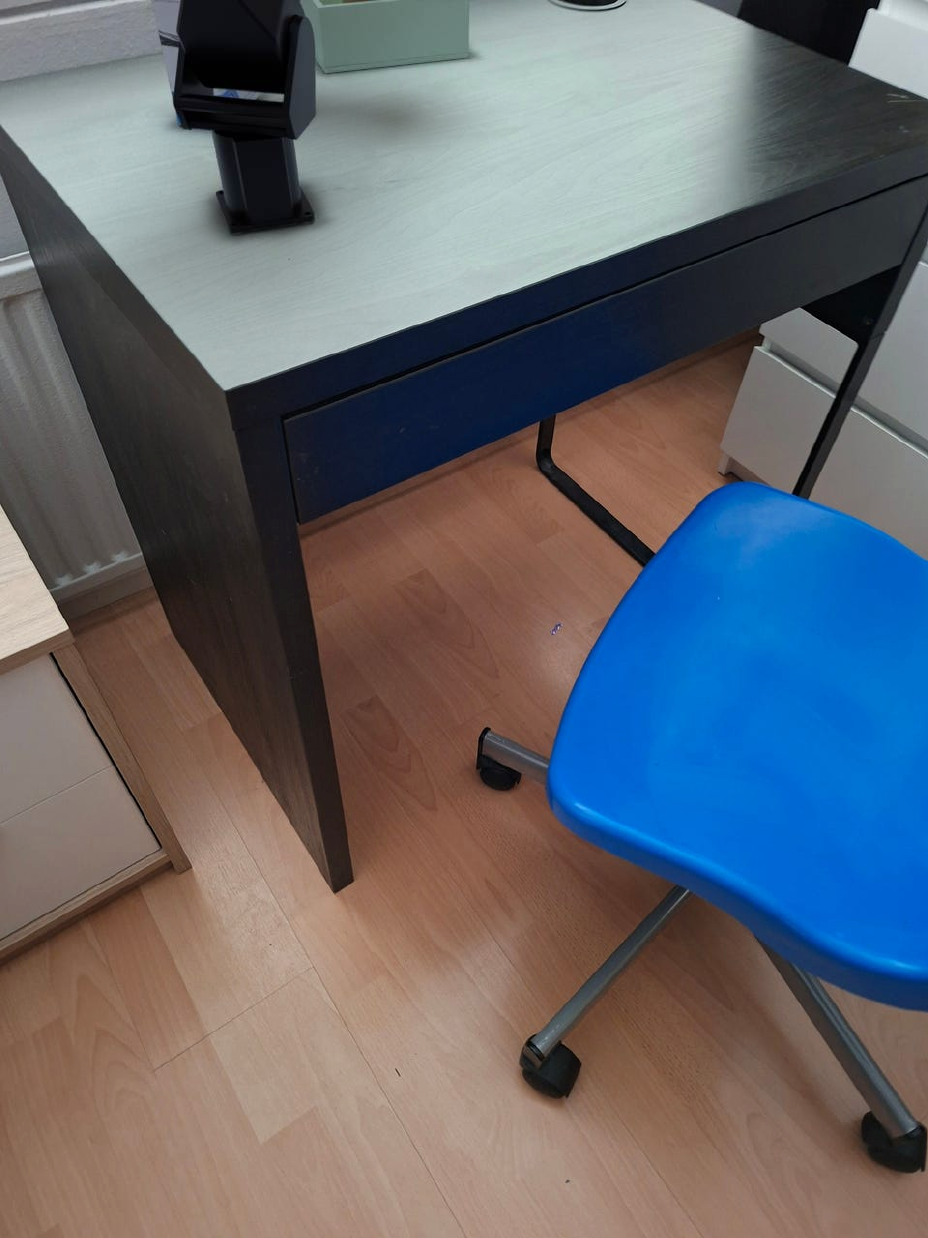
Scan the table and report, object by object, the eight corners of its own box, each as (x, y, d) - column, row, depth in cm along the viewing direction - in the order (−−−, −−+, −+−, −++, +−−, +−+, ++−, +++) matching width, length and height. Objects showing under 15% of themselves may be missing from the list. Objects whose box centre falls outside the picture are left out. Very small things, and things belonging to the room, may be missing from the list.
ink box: (228, 131, 75) (198, -34, 66) (176, 126, 75) (138, -38, 66) (262, 96, 80) (238, -61, 71) (212, 91, 81) (182, -65, 72)
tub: (468, 57, 87) (469, -7, 83) (325, 73, 84) (318, 7, 80) (423, 13, 97) (422, -47, 92) (292, 26, 93) (284, -36, 89)
